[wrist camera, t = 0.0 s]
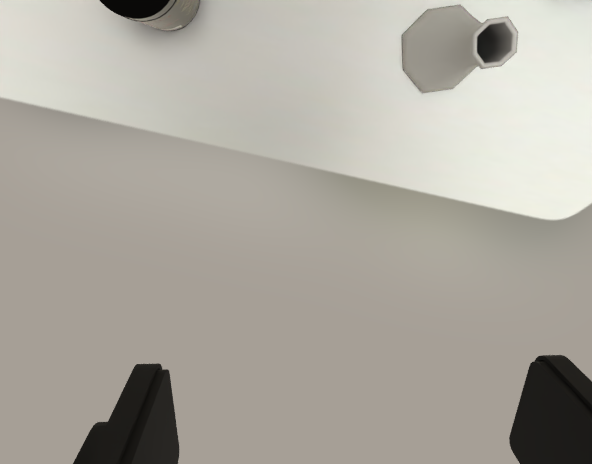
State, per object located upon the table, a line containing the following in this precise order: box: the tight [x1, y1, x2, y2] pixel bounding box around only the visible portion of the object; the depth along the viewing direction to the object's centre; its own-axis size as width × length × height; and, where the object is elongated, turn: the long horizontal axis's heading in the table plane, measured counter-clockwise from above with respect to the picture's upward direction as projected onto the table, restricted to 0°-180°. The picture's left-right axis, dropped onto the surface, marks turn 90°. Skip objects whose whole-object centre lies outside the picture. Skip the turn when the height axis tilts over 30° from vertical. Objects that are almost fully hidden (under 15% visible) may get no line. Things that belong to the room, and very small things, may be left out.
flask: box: [402, 5, 518, 93], centre depth 32 cm, size 7×7×10 cm
